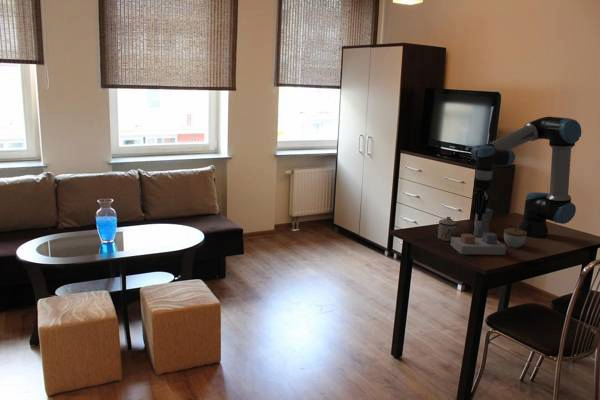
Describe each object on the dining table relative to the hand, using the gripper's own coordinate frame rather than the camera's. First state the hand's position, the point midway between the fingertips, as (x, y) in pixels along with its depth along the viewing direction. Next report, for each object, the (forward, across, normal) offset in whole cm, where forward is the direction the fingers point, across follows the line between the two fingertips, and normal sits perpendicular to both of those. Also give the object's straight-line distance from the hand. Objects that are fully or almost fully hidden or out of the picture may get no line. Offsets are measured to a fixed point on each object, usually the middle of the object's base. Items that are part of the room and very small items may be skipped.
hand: (477, 226), depth 255 cm
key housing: (+12, 0, +1) cm, 12 cm away
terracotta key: (+9, 0, -4) cm, 10 cm away
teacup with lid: (+12, -18, -7) cm, 23 cm away
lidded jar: (+12, -7, +23) cm, 27 cm away
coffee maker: (+12, -25, +13) cm, 31 cm away
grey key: (+8, 0, +7) cm, 11 cm away
